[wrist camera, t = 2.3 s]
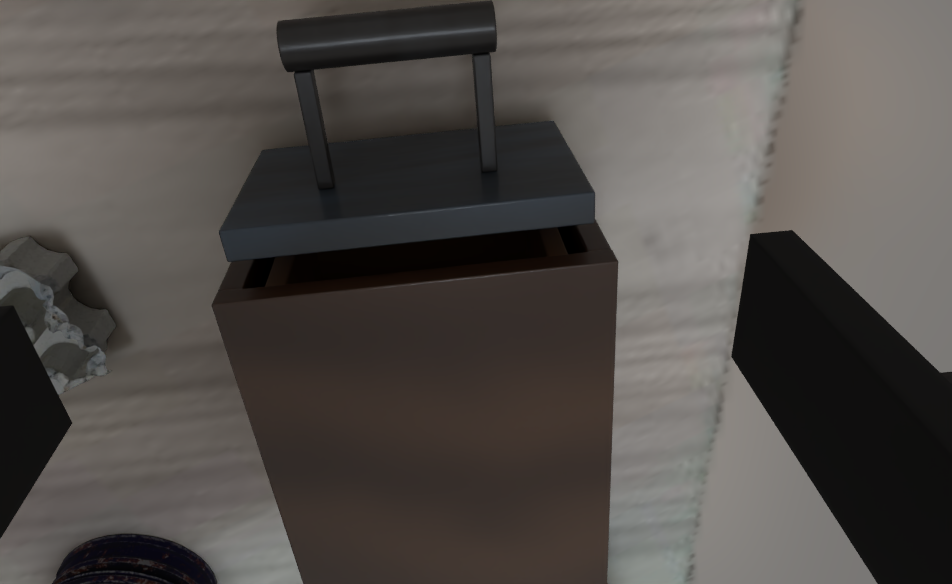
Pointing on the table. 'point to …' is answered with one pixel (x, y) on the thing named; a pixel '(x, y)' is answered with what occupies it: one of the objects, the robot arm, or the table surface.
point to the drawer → (404, 166)
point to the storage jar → (133, 563)
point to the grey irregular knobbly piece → (54, 313)
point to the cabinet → (435, 415)
